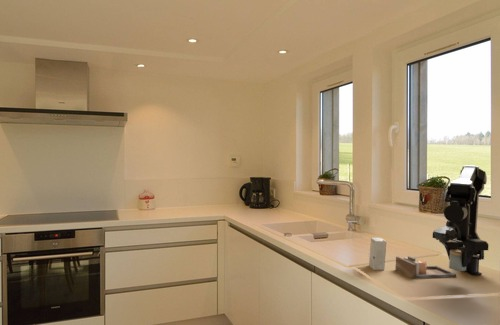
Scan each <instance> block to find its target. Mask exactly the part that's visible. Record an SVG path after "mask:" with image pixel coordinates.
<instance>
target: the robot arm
mask: <svg viewBox="0 0 500 325" xmlns="http://www.w3.org/2000/svg"><path fill="white" fill-rule="evenodd" d="M487 178H488V177H487V173H486V171H484V170H482V169H481V168H480V167H479V166H478V165H463V166H462V169H461V170H460V172H459V177H458V179H454V180H452V181H451V182H450V184H449V185H447V188H446V194H445V199H444V202H445V203H449V205H448V206H446V207H445V208H444V211H443V216H444V219H446V220H447V221H446V222H445V223H446V224H445V226H441V227H438V228H435V229H434V230H433V232H432V239H435V240H436V241H438V242H439V243H441V244H442V246H444V248H445V251H446V254H447V257H448V258H449V257H450V250H451V249H456V250H461V252H462V267H466V271H462V272H464V273H466V274H469V275H471V276H478V275H483V273H482V272H480V270H479V269H480V267H479V266H480V261H482V260H485V251H489V243H488V241H486V240H483V239H481V238H480V235H478V232H477V226H478V212H479V196H480V194H481V193H482V192H483V191H484V189H485V185H487V180H488V179H487Z"/></svg>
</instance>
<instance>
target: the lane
mask: <svg viewBox="0 0 500 325" xmlns="http://www.w3.org/2000/svg"><path fill="white" fill-rule="evenodd" d="M415 267H416V264H414V263H411V262H409V261H407V260H405V259H404V257H400V256H395V271H397V272H399V273H401V274H403V275H405V276H406V277H409V278H410V279H412V280H413V279H436V278H437V279H439V278H457V274H456V273H454V272H451V271H450V270H447V269H444V268H442V267H440V266H438V265H427V268H426V274H425V275H415Z"/></svg>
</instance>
